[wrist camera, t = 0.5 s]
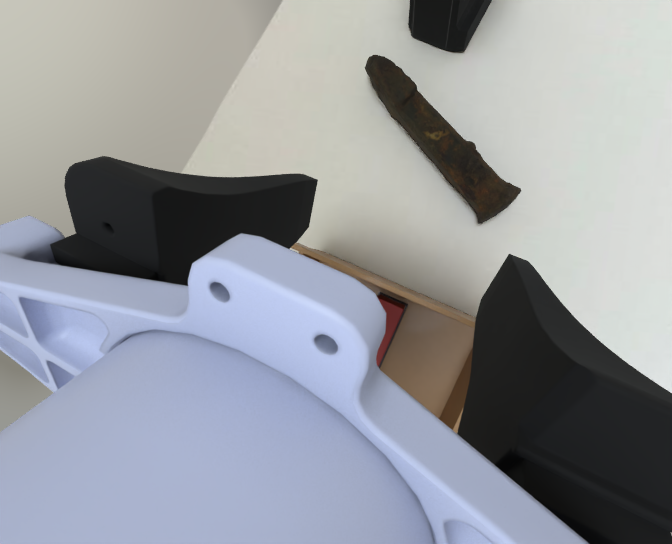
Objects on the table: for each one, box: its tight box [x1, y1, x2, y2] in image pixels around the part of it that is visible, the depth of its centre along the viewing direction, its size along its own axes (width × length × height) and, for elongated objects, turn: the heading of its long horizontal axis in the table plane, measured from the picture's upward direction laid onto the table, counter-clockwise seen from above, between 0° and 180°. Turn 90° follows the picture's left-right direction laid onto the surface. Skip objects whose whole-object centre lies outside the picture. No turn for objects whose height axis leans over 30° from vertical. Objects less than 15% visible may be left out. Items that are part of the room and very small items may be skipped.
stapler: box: [376, 292, 408, 369], centre depth 33 cm, size 10×3×5 cm, turn 157°
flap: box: [291, 243, 476, 329], centre depth 25 cm, size 18×6×1 cm
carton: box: [299, 249, 476, 433], centre depth 33 cm, size 18×13×6 cm
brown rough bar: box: [365, 55, 521, 224], centre depth 32 cm, size 19×4×5 cm, turn 37°
